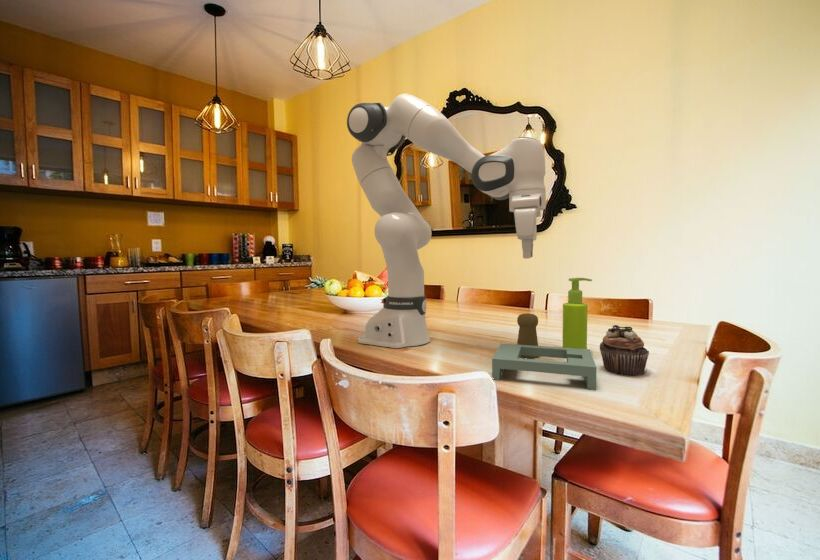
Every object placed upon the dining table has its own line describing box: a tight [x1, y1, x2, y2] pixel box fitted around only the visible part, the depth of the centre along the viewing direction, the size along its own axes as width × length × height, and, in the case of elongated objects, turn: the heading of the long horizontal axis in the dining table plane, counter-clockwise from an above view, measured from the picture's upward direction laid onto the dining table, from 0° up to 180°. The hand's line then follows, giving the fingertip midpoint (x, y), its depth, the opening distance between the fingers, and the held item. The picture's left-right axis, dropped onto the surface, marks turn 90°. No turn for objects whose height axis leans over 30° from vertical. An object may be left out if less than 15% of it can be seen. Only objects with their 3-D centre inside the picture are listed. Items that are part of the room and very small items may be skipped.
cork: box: [516, 313, 540, 360], centre depth 97 cm, size 6×6×11 cm
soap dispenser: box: [562, 277, 593, 349], centre depth 98 cm, size 6×7×20 cm
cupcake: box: [599, 324, 650, 377], centre depth 84 cm, size 10×10×10 cm
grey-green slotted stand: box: [491, 342, 597, 391], centre depth 83 cm, size 20×14×4 cm
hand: (528, 258), depth 96 cm, fingers open, 8 cm apart
